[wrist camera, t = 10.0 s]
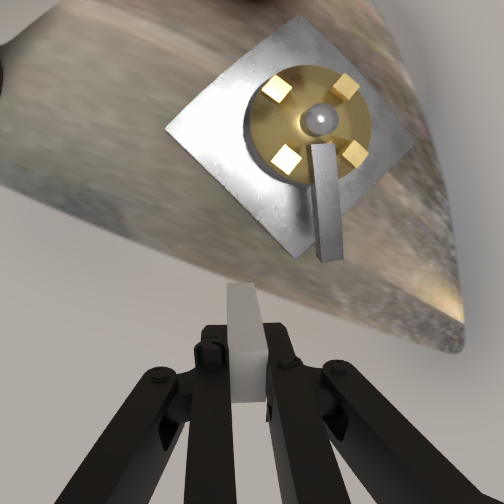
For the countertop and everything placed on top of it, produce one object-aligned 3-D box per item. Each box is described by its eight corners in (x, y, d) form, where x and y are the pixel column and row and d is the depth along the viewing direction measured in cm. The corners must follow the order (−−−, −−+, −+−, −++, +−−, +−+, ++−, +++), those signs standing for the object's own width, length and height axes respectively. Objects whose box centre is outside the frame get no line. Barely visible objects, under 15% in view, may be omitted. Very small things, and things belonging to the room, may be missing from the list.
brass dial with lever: (242, 77, 27) (244, 58, 21) (351, 73, 27) (374, 56, 21) (264, 253, 32) (271, 274, 26) (367, 239, 32) (393, 255, 26)
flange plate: (167, 129, 32) (159, 125, 28) (297, 18, 29) (304, 4, 25) (293, 255, 36) (300, 266, 33) (409, 143, 33) (427, 142, 30)
